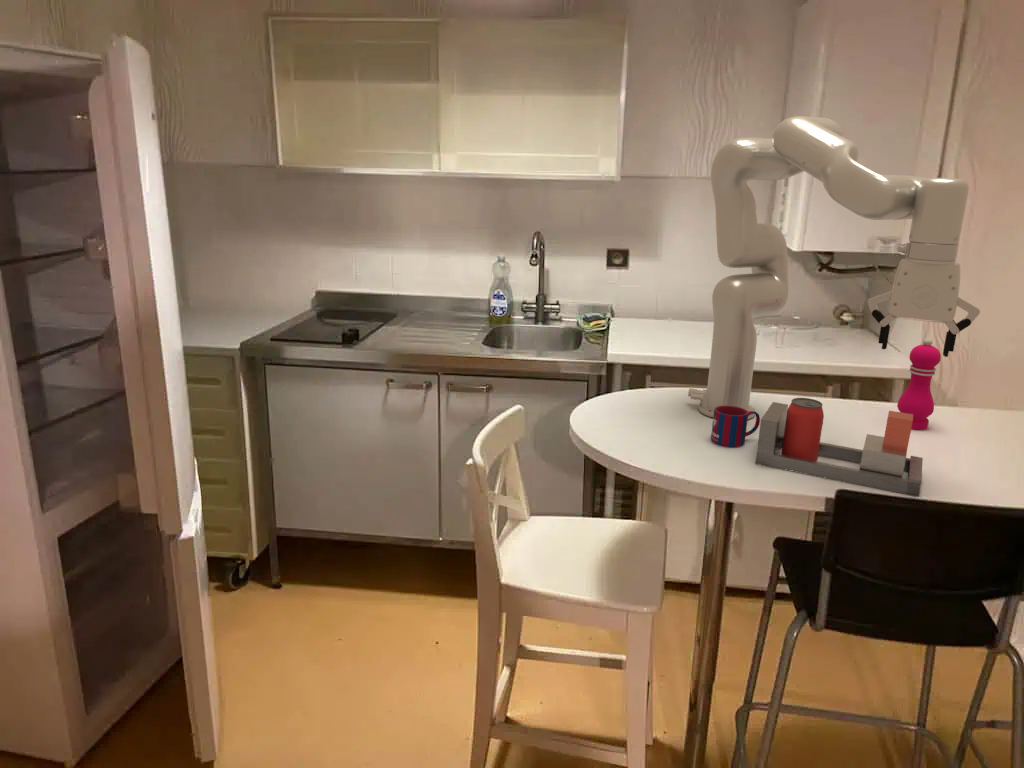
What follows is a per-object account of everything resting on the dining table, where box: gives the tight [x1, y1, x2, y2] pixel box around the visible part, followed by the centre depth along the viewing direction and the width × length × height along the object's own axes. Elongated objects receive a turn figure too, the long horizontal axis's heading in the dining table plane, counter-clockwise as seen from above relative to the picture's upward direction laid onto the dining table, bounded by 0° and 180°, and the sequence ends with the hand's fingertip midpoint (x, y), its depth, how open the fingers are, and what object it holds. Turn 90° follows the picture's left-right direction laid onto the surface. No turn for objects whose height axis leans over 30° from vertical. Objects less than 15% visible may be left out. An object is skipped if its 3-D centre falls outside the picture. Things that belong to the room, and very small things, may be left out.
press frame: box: [754, 401, 924, 497], centre depth 144 cm, size 28×12×9 cm, turn 62°
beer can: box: [780, 397, 825, 462], centre depth 147 cm, size 7×7×12 cm
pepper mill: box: [896, 337, 941, 431], centre depth 168 cm, size 7×7×20 cm
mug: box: [710, 405, 761, 448], centre depth 157 cm, size 7×10×7 cm
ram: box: [859, 410, 913, 478], centre depth 141 cm, size 7×9×12 cm
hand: (914, 351), depth 135 cm, fingers open, 9 cm apart
